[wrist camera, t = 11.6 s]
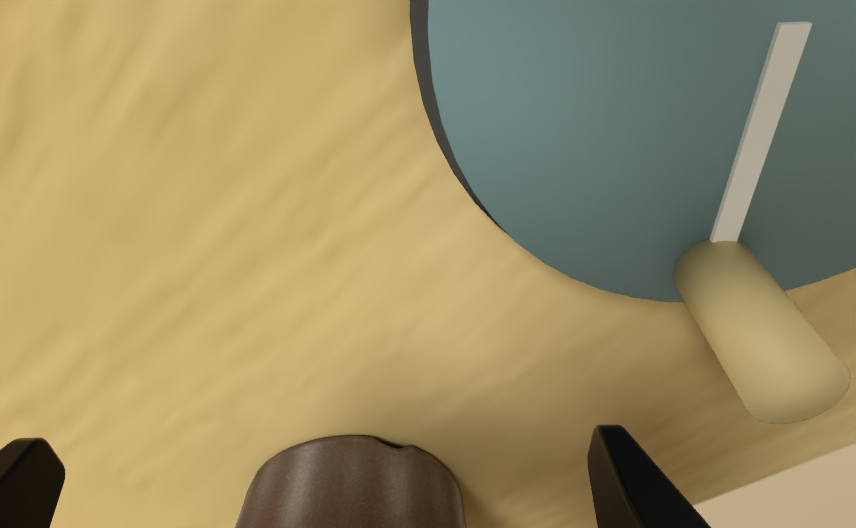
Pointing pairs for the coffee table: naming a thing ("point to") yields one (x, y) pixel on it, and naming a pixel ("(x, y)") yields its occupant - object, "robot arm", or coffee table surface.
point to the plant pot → (352, 488)
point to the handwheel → (670, 160)
